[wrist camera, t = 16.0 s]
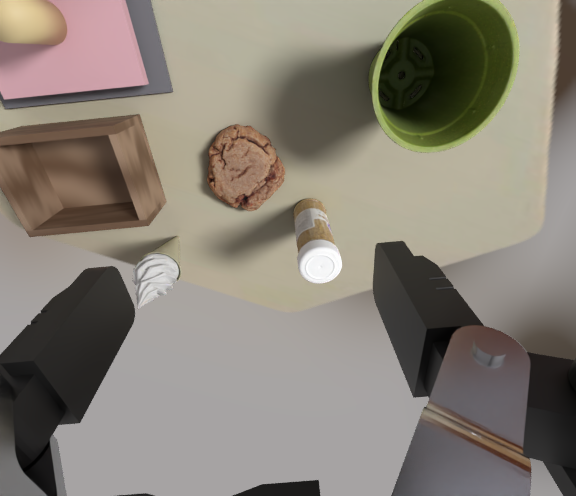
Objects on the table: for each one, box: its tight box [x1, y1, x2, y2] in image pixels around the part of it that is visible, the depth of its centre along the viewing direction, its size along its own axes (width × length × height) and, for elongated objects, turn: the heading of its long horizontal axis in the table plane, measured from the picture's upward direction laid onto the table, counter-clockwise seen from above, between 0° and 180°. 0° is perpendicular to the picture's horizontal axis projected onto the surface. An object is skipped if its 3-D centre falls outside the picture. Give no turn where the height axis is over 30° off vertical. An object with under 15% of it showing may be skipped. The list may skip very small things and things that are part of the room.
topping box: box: [0, 114, 166, 237], centre depth 37 cm, size 11×14×7 cm
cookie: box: [207, 125, 285, 211], centre depth 40 cm, size 10×11×3 cm
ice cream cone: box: [133, 236, 181, 309], centre depth 39 cm, size 5×5×15 cm
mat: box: [0, 0, 173, 109], centre depth 32 cm, size 14×19×1 cm
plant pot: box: [368, 0, 519, 153], centre depth 31 cm, size 12×12×11 cm
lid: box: [0, 0, 149, 100], centre depth 29 cm, size 12×15×8 cm
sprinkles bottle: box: [293, 199, 342, 283], centre depth 38 cm, size 5×5×14 cm
